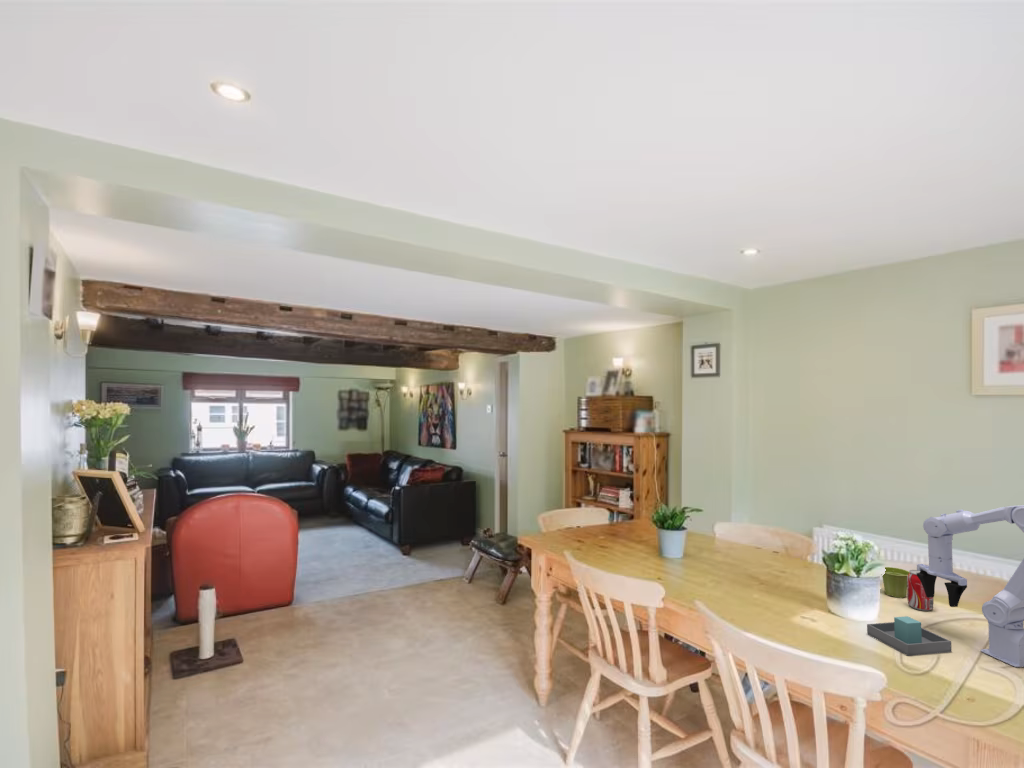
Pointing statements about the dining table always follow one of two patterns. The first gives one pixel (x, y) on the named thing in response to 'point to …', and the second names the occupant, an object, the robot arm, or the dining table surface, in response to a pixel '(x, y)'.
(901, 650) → the tray
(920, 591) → the soda can
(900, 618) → the teal block
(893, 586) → the plant pot
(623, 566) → the dining table surface
